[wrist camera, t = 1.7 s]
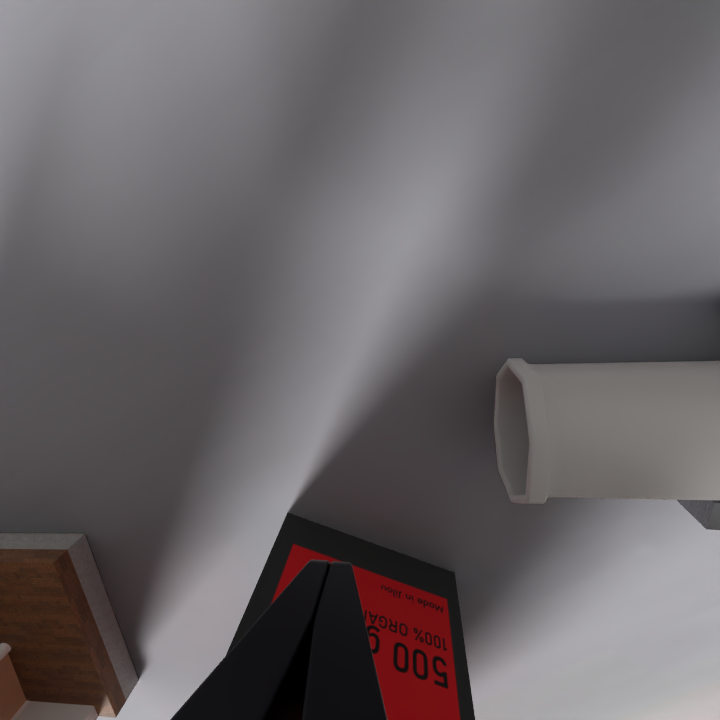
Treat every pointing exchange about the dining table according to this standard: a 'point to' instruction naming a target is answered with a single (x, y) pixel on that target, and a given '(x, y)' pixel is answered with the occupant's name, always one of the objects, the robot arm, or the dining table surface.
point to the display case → (58, 632)
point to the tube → (608, 430)
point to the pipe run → (704, 512)
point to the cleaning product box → (385, 617)
